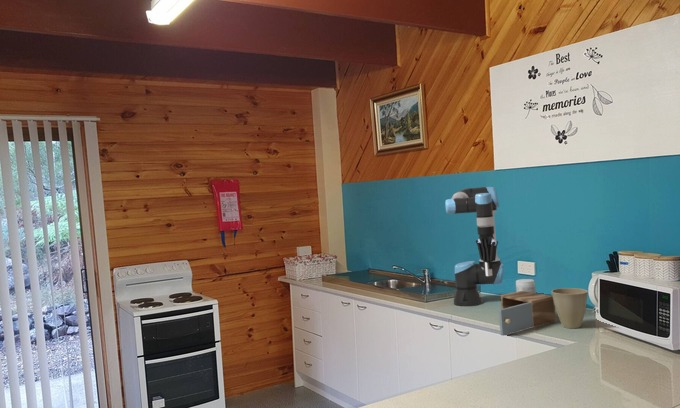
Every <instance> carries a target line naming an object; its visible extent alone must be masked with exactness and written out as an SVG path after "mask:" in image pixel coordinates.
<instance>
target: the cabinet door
mask: <svg viewBox="0 0 680 408" xmlns="http://www.w3.org/2000/svg"><path fill="white" fill-rule="evenodd" d="M498 317H499V319H498V320H499V329H500V336H506V335H510V334H513V333H516V332H521V331H523V330H528V329H530V328H534V327H533V316H532V303H531V302H528V303H524V304H520V305H516V306H512V307H508V308H504V309H502V308H501V309H498Z"/></svg>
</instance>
